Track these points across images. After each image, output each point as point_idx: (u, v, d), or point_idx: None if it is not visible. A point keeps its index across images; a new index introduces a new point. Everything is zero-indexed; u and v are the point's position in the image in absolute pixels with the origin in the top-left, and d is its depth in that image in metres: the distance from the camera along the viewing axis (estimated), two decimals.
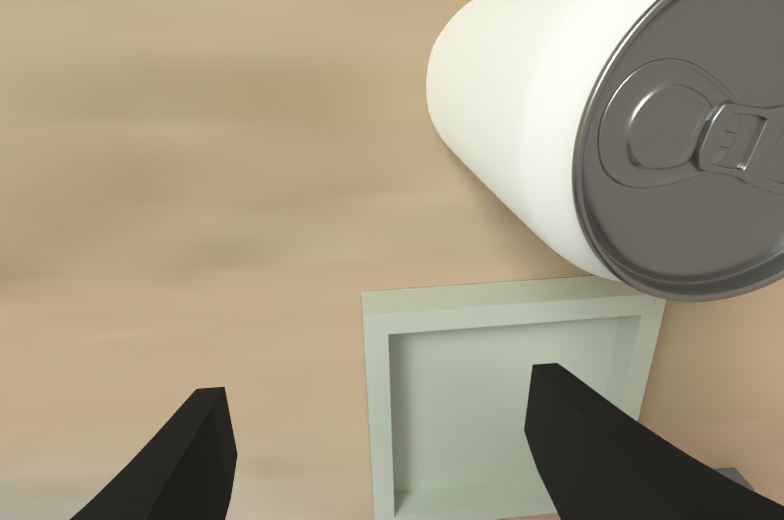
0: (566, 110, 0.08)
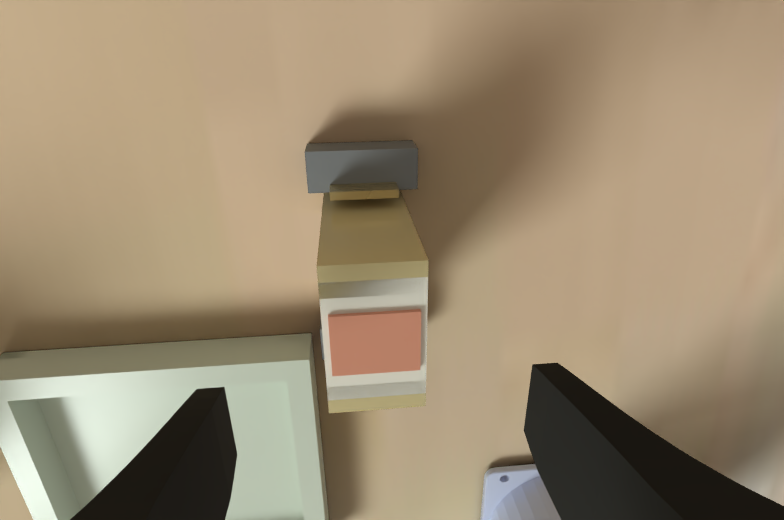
0: None
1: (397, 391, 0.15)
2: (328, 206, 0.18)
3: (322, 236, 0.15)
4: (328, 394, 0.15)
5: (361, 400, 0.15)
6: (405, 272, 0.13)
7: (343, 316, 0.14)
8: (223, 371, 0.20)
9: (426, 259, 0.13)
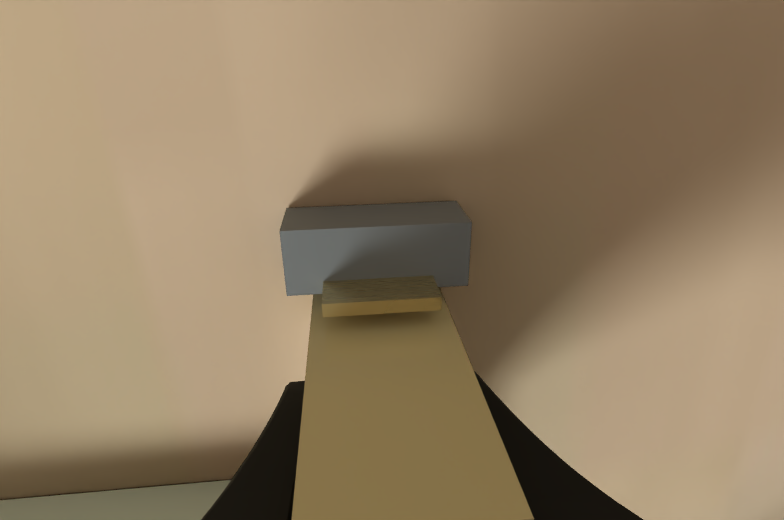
0: None
1: None
2: (320, 319, 0.10)
3: (307, 415, 0.08)
4: None
5: None
6: None
7: None
8: None
9: (528, 514, 0.06)
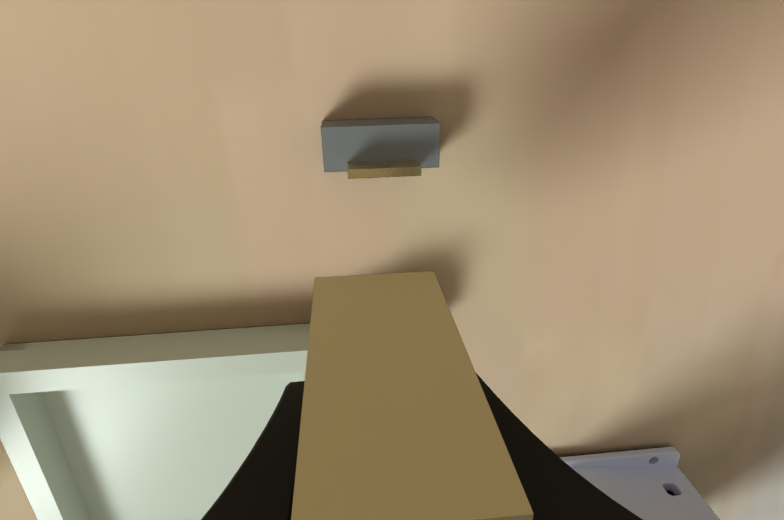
0: None
1: None
2: (320, 316, 0.10)
3: (307, 412, 0.08)
4: None
5: None
6: None
7: None
8: (234, 362, 0.19)
9: (528, 509, 0.06)
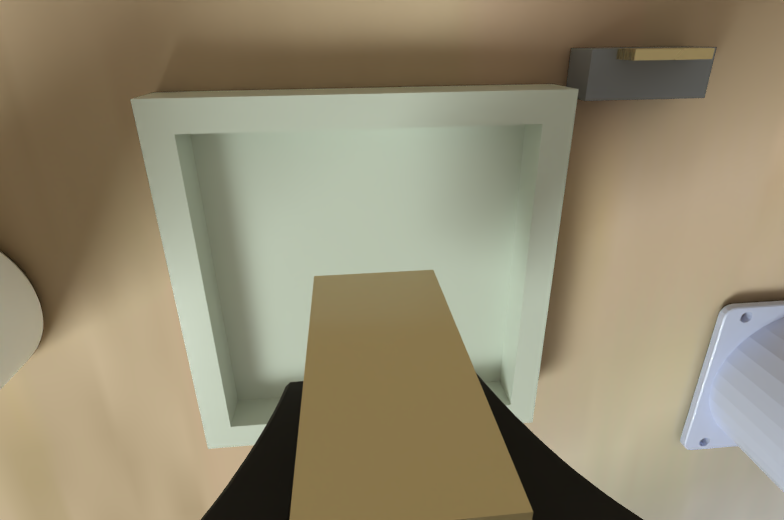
0: None
1: None
2: (320, 315, 0.10)
3: (306, 410, 0.08)
4: None
5: None
6: None
7: None
8: (464, 102, 0.15)
9: (528, 508, 0.06)
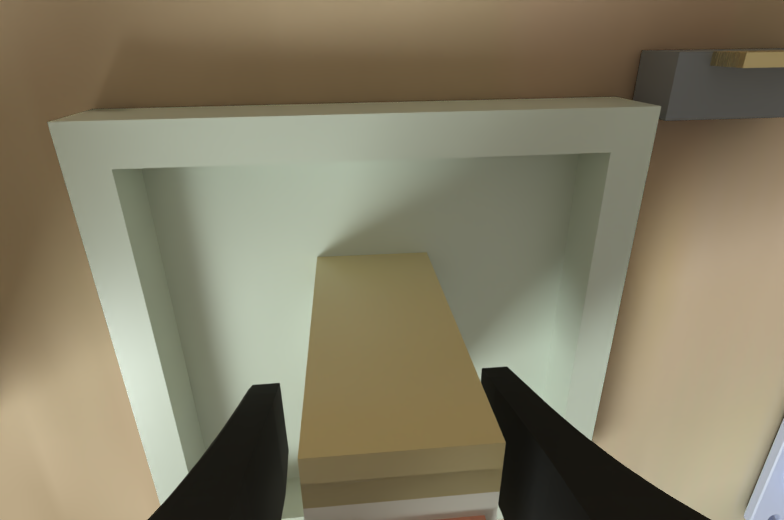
0: None
1: None
2: (322, 289, 0.11)
3: (311, 365, 0.09)
4: None
5: None
6: (462, 461, 0.07)
7: None
8: (507, 124, 0.11)
9: (501, 439, 0.07)
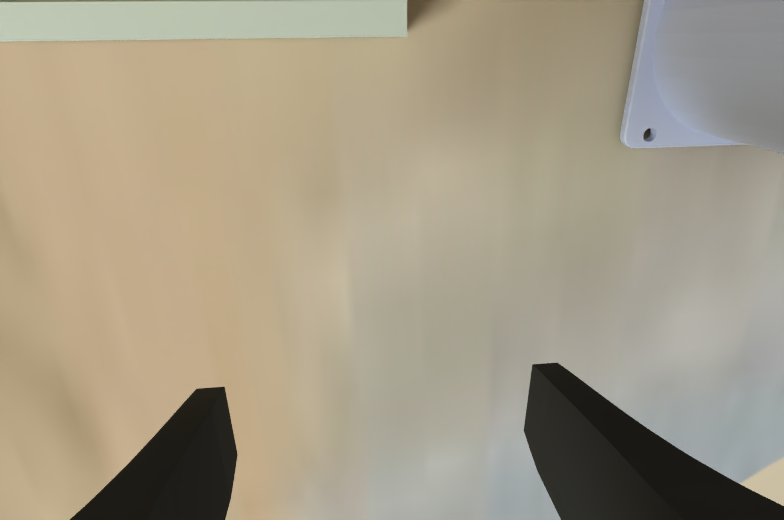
0: None
1: None
2: None
3: None
4: None
5: None
6: None
7: None
8: None
9: None
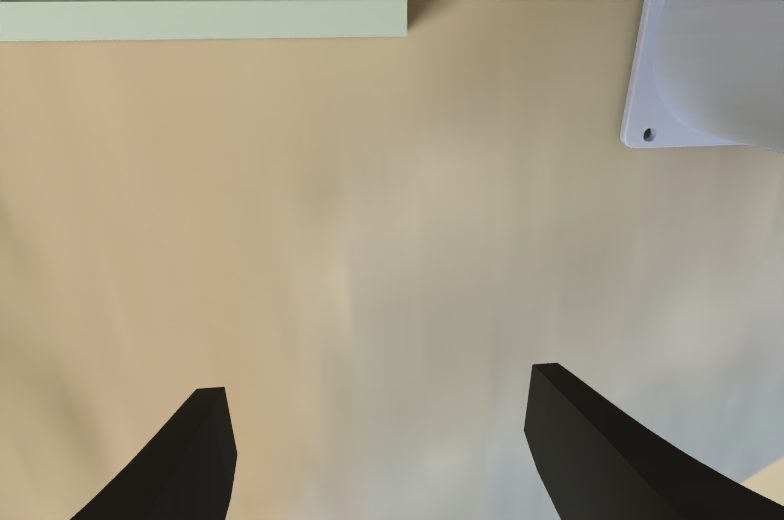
0: None
1: None
2: None
3: None
4: None
5: None
6: None
7: None
8: None
9: None
